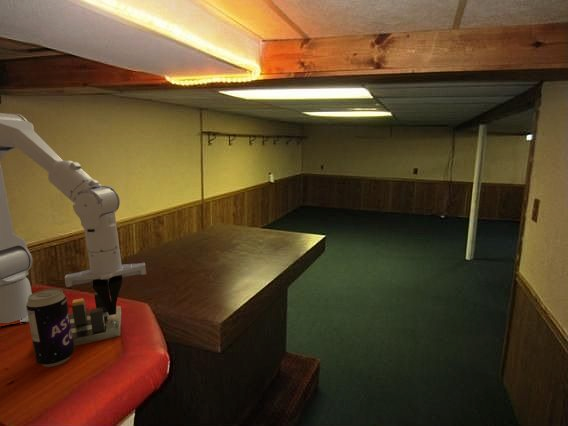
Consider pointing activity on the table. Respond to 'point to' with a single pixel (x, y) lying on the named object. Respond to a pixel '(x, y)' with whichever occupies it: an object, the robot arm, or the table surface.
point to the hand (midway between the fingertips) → (112, 313)
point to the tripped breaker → (79, 311)
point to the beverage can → (50, 327)
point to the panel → (99, 336)
